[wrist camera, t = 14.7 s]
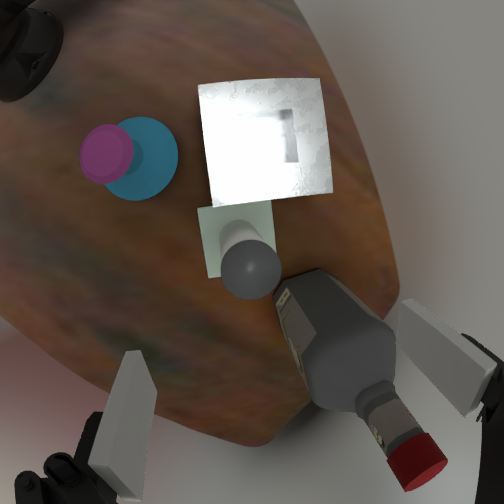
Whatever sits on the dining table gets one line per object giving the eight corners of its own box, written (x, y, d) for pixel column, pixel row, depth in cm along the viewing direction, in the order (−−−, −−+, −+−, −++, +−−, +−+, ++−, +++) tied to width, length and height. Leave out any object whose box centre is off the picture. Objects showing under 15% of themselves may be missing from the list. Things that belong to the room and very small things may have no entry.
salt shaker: (214, 221, 35) (216, 246, 24) (257, 215, 36) (278, 237, 24) (220, 261, 37) (225, 303, 25) (261, 256, 37) (283, 294, 26)
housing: (200, 98, 31) (198, 85, 26) (303, 91, 33) (319, 78, 27) (212, 201, 35) (213, 207, 29) (314, 188, 36) (333, 192, 31)
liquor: (330, 262, 39) (493, 406, 11) (339, 316, 42) (459, 468, 13) (267, 282, 39) (370, 485, 10) (282, 336, 42) (363, 521, 13)
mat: (197, 207, 35) (197, 208, 34) (269, 197, 36) (270, 198, 35) (208, 276, 38) (208, 278, 37) (276, 266, 38) (277, 267, 38)
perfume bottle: (186, 124, 32) (169, 93, 18) (178, 199, 34) (155, 218, 20) (115, 122, 31) (60, 97, 16) (108, 194, 33) (49, 212, 19)
